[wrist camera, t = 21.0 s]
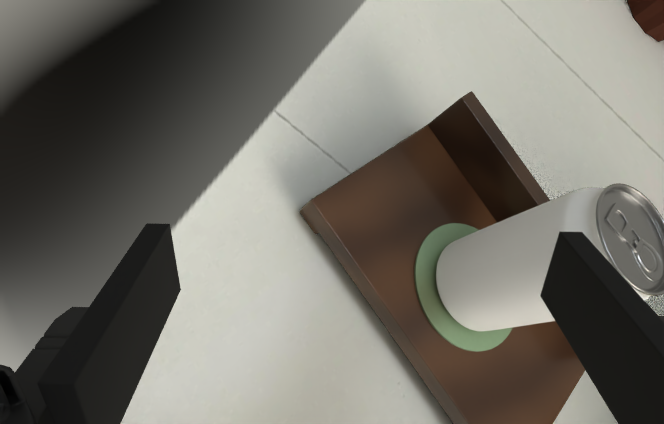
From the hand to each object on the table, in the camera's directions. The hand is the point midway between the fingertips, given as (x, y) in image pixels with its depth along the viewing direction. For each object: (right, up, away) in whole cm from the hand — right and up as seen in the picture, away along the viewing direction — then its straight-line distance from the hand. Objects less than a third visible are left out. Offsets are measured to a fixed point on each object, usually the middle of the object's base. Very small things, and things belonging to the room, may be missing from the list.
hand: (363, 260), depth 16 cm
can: (+9, -3, +17) cm, 19 cm away
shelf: (+8, -4, +20) cm, 21 cm away
